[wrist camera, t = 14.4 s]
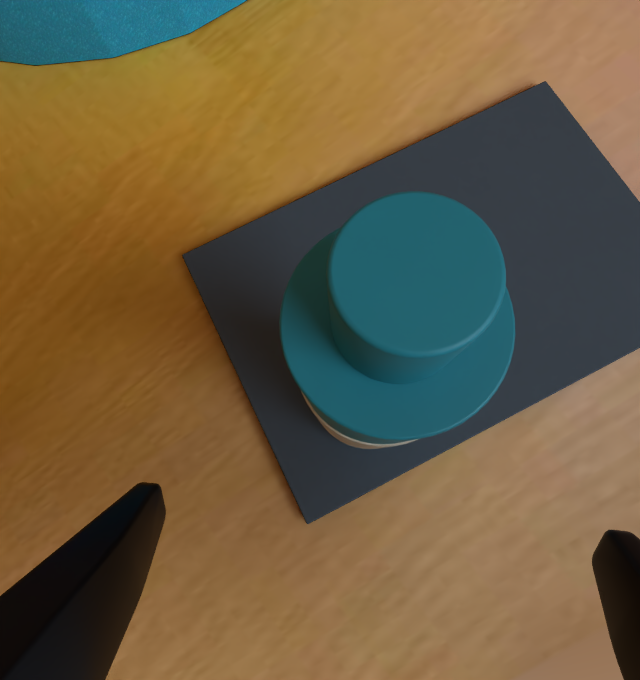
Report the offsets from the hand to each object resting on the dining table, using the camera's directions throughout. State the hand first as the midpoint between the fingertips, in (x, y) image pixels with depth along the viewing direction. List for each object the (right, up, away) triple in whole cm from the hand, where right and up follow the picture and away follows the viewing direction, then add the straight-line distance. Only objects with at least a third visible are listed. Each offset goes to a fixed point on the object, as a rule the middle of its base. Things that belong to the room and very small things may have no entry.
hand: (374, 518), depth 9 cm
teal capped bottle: (+1, +1, +8) cm, 8 cm away
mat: (+4, +6, +10) cm, 12 cm away
